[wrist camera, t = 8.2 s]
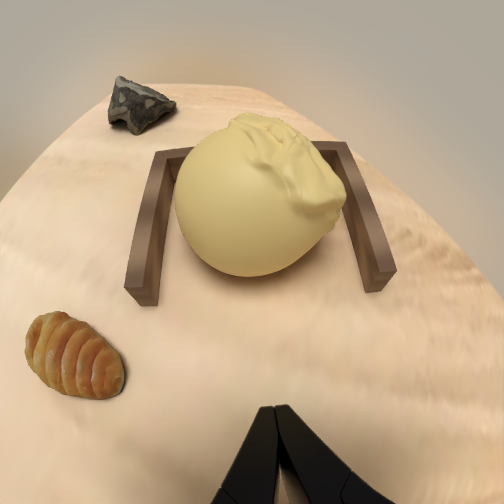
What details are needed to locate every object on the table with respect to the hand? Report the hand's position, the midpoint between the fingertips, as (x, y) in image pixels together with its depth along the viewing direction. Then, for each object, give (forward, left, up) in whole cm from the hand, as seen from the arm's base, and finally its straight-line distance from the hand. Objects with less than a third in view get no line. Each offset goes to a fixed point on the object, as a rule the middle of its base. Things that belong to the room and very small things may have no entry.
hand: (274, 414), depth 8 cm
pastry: (+4, +16, -12) cm, 20 cm away
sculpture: (+15, 0, -12) cm, 19 cm away
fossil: (+39, +15, -12) cm, 44 cm away
